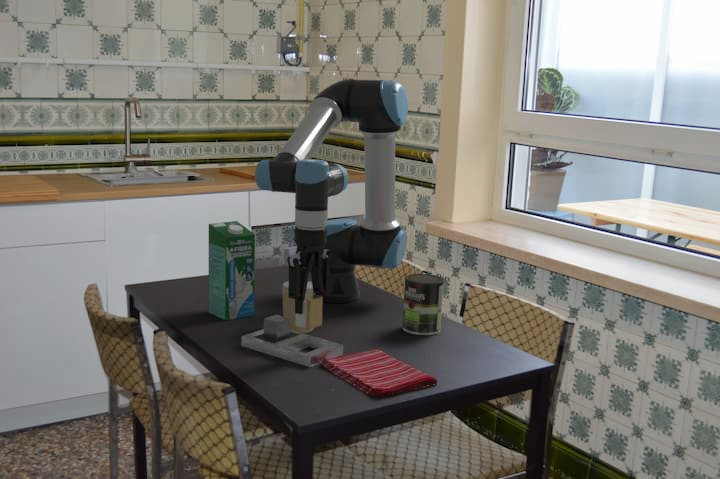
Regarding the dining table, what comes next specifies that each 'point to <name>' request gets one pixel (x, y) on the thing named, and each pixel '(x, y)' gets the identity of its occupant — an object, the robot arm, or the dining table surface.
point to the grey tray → (294, 347)
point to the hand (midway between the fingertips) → (308, 323)
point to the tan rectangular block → (313, 311)
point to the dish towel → (377, 373)
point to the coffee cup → (293, 306)
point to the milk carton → (231, 270)
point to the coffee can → (422, 304)
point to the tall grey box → (276, 328)
